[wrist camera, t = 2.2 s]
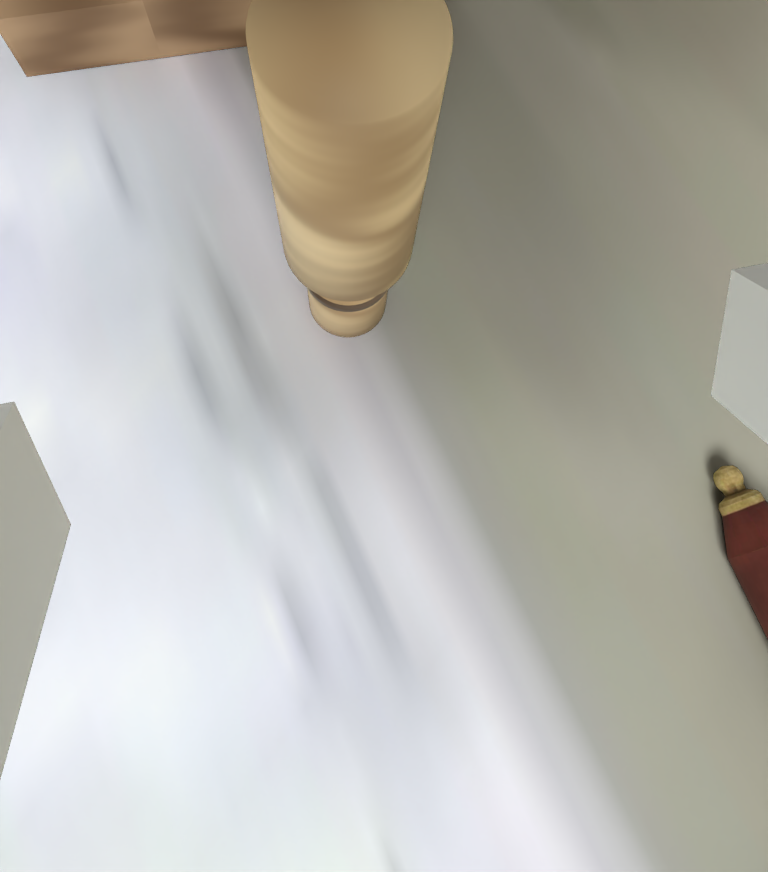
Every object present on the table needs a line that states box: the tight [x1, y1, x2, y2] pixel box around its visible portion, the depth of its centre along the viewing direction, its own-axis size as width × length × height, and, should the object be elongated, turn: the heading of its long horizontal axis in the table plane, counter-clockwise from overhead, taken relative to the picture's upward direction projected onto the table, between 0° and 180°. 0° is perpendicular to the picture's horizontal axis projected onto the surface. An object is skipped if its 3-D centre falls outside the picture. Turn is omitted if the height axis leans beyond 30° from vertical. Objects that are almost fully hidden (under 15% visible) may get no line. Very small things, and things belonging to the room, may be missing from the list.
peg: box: [246, 0, 453, 337], centre depth 21 cm, size 4×4×14 cm
